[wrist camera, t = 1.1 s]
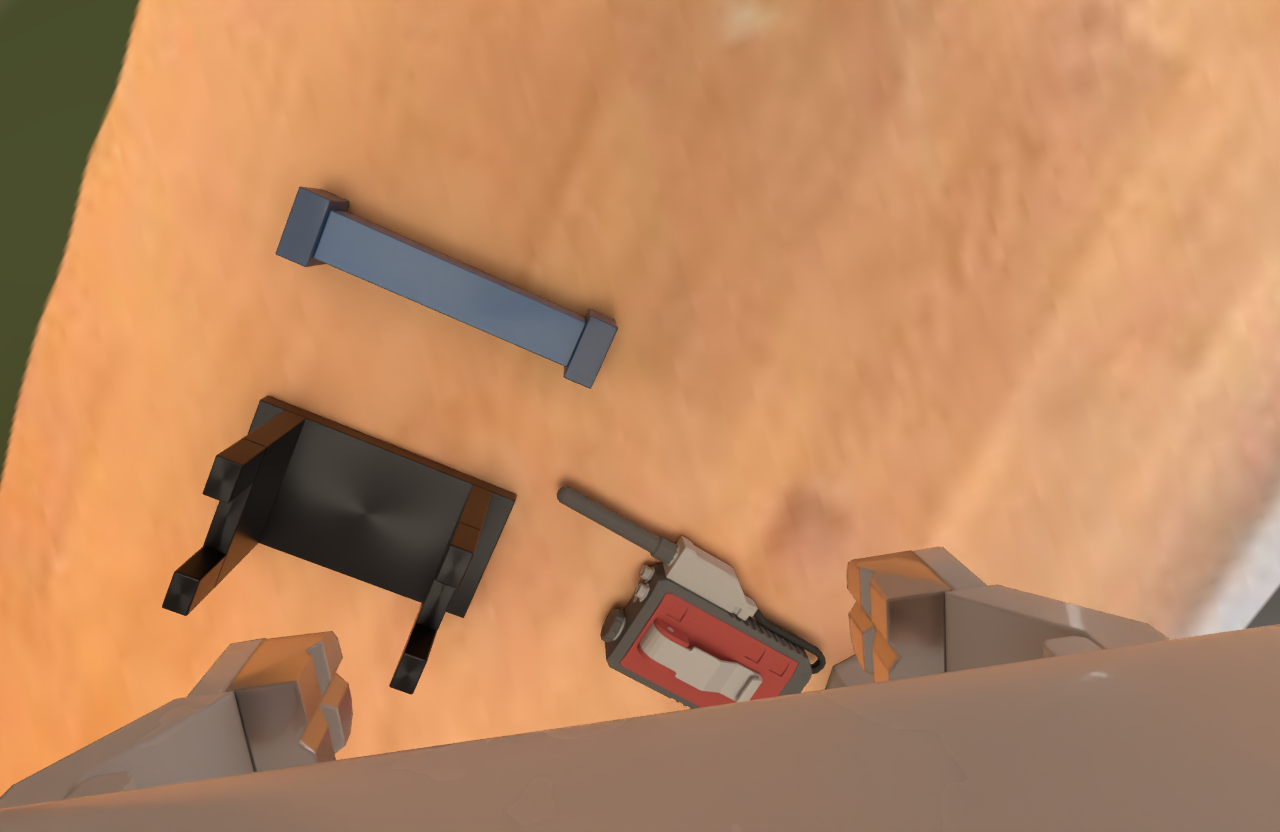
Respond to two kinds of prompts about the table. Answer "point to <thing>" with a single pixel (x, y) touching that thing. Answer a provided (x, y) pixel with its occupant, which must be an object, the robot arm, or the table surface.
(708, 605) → the walkie-talkie
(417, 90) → the table surface
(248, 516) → the holder
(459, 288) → the handle
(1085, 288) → the table surface
